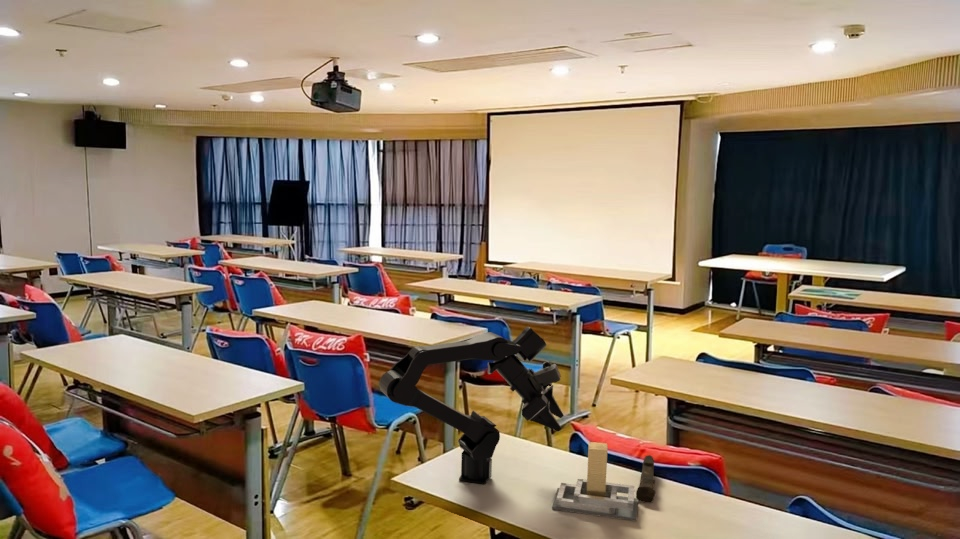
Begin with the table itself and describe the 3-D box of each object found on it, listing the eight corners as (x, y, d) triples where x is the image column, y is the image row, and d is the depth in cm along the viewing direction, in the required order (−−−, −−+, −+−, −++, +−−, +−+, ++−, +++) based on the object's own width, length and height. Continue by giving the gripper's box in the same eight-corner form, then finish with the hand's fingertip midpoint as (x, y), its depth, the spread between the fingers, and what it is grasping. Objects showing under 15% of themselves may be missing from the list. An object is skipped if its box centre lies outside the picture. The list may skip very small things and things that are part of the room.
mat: (551, 509, 145) (551, 506, 145) (557, 490, 154) (557, 487, 154) (636, 521, 141) (636, 518, 141) (637, 501, 150) (637, 498, 150)
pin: (586, 505, 146) (588, 448, 144) (586, 497, 150) (588, 441, 148) (604, 507, 145) (607, 450, 144) (604, 499, 149) (607, 443, 147)
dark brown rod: (653, 505, 149) (655, 485, 148) (635, 502, 150) (636, 482, 149) (659, 472, 166) (661, 454, 166) (643, 469, 168) (644, 452, 167)
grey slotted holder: (555, 506, 145) (556, 493, 145) (560, 488, 154) (561, 476, 153) (632, 517, 141) (633, 503, 141) (633, 498, 150) (634, 485, 149)
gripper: (537, 363, 149) (585, 415, 149) (544, 344, 168) (587, 390, 167) (502, 394, 152) (549, 445, 151) (512, 372, 170) (554, 418, 169)
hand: (561, 423), depth 160 cm, fingers open, 9 cm apart
